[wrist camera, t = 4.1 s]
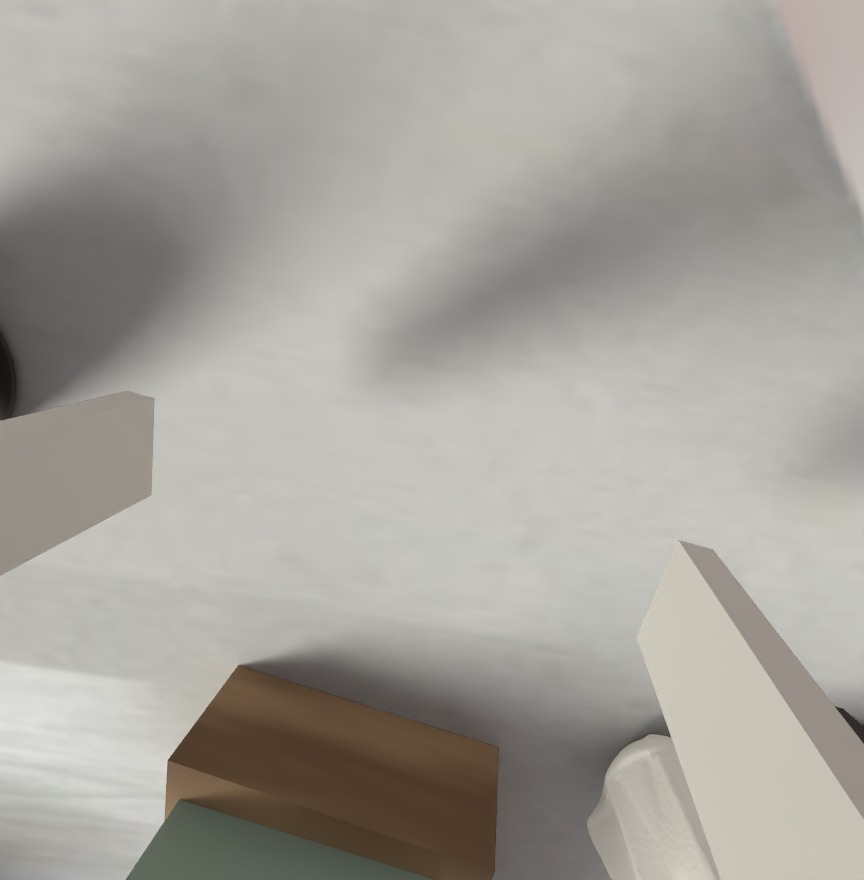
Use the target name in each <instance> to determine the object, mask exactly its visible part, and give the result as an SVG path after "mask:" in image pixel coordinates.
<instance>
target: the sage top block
mask: <svg viewBox="0 0 864 880" xmlns="http://www.w3.org/2000/svg"><path fill="white" fill-rule="evenodd" d="M126 880H435V879H432V878H429V877H425V876H422V875H419V874H416V873H413V872H409V871H406V870H403V869H400V868H397V867H393V866H390V865H387V864H384V863H381V862H377V861H374V860H371V859H368V858H365V857H362V856H358V855H355V854H352V853H349V852H346V851H342V850H339V849H336V848H333V847H330V846H326V845H323V844H320V843H317V842H314V841H310V840H307V839H304V838H301V837H298V836H295V835H291V834H288V833H285V832H282V831H279V830H275V829H272V828H269V827H266V826H263V825H259V824H256V823H253V822H250V821H247V820H243V819H240V818H237V817H234V816H231V815H227V814H224V813H221V812H218V811H215V810H212V809H208V808H205V807H202V806H199V805H196V804H192V803H189V802H186V801H183V800H180V799H179V801H178V802H177V804H176V805H175V807H174V808H173V810H172V811H171V813H170V814H169V816H168V817H167V819H166V820H165V822H164V823H163V825H162V826H161V828H160V829H159V831H158V832H157V834H156V835H155V837H154V838H153V840H152V841H151V843H150V844H149V846H148V847H147V849H146V850H145V852H144V853H143V855H142V856H141V858H140V859H139V861H138V862H137V864H136V865H135V867H134V868H133V870H132V871H131V873H130V874H129V876H128V877H127V879H126Z"/></svg>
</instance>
